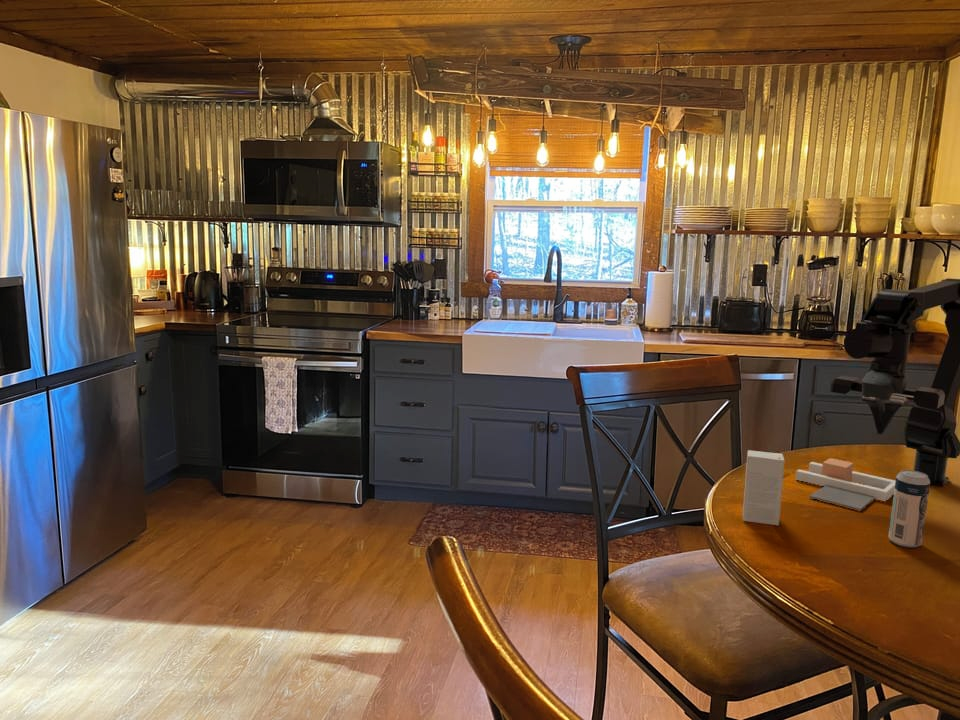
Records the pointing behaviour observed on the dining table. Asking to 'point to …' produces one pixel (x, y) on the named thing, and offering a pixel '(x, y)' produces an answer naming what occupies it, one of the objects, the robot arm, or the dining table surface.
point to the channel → (872, 487)
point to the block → (837, 469)
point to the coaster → (842, 497)
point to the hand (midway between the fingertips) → (880, 433)
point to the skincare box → (763, 487)
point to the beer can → (909, 508)
